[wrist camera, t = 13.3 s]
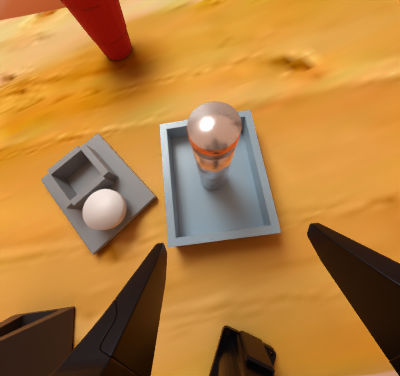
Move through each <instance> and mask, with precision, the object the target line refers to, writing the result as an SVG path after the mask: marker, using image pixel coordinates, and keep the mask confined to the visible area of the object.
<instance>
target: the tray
mask: <svg viewBox="0 0 400 376" xmlns="http://www.w3.org/2000/svg"><path fill="white" fill-rule="evenodd" d="M238 114H239V116H240V118H241V123H242V130H241V134H240V137H239V140H238V144H237V146H236V148H235V152H234V155H233V159H232V162H231V165H230V169H229V172H228V176H227V179H226V182H225V185H224V186H223V187H222V188H221V189H219V190H216V191H210V190H208V189H206V188H204V187H203V185H202V184H201V181H200V177H199V173H198V169H197V165H196V161H195V158H194V154H193V150H192V147H191V145H190V141H189V137H188V133H187V122H188V120H184V121H178V122H171V123H165V124H160V136H161V150H162V164H163V178H164V192H165V206H166V220H167V234H168V247H175V246H183V245H190V244H198V243H206V242H214V241H221V240H229V239H237V238H245V237H252V236H260V235H268V234H275V233H281V229H280V225H279V221H278V217H277V213H276V209H275V205H274V201H273V198H272V194H271V190H270V186H269V182H268V178H267V174H266V170H265V166H264V162H263V158H262V154H261V150H260V146H259V142H258V138H257V134H256V130H255V126H254V122H253V118H252V114H251V111H250V110H246V111H240V112H238Z"/></svg>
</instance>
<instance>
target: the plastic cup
mask: <svg viewBox="0 0 400 376" xmlns="http://www.w3.org/2000/svg"><path fill="white" fill-rule="evenodd" d="M61 2H62V3H63V4H64V5H65V6H66V7H67V8H68V10H69V11H70V12H71V13H72V15H73V16H74V17H75V18H76V20H77V21H78V22H79V23H80V25H81V26H82V27H83V28H84V30H85V31H86V32H87V33H88V35H89V36H90V37H91V38H92V40H93V41H94V42H95V43H96V44H97V45H98V46H99V48H100V49H101V50H102V51H103V53H104V54H105V55H106V56H107V57H108V58H109V59H111V60H121V59H124V58H125V57H127V56H128V55H129V54H130V52H131V42H130V39H129V36H128V32H127V29H126V24H125V20H124V17H123V13H122V10H121V7H120V3H119V0H61Z"/></svg>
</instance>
